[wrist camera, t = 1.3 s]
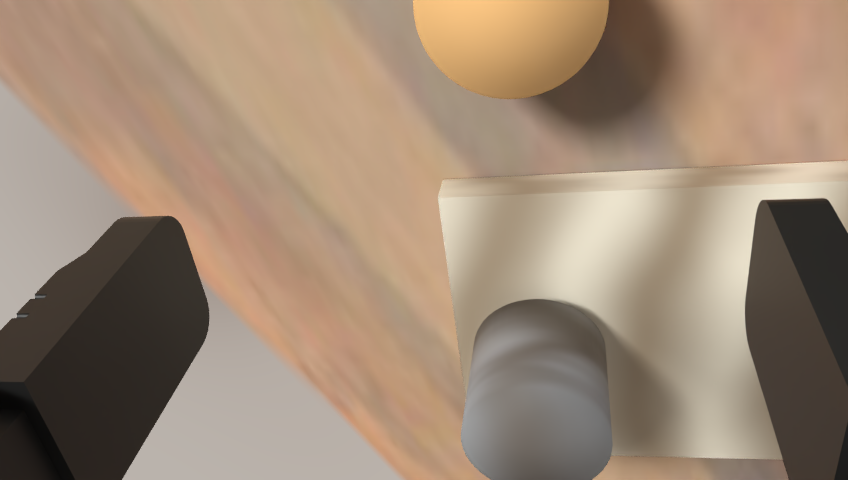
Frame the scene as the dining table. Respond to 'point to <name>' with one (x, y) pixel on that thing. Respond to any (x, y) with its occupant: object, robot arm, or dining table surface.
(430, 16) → the orange cap
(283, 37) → the dining table surface
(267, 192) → the dining table surface
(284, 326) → the dining table surface
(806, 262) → the robot arm
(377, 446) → the dining table surface
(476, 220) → the board
